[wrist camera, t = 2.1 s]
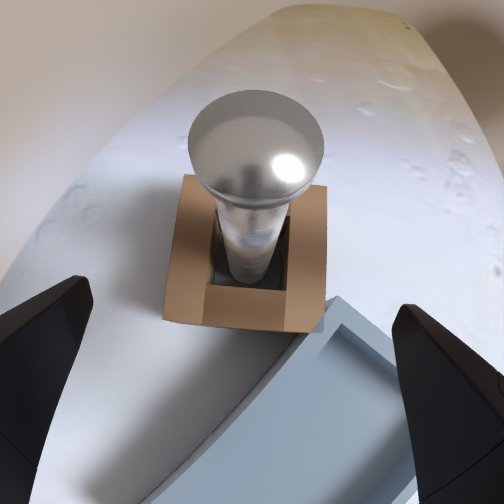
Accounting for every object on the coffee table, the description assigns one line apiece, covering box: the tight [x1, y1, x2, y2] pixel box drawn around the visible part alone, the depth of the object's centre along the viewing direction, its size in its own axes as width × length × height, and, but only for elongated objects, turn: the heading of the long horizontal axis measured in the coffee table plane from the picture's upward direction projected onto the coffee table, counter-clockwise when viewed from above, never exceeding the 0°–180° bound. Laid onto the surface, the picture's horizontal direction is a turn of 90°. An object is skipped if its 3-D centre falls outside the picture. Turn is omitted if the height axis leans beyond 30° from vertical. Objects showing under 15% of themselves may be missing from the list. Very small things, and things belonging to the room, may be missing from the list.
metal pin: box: [188, 90, 324, 284], centre depth 13 cm, size 3×3×13 cm
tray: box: [139, 296, 418, 504], centre depth 14 cm, size 20×12×4 cm, turn 140°
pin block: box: [163, 174, 327, 334], centre depth 18 cm, size 8×8×4 cm
